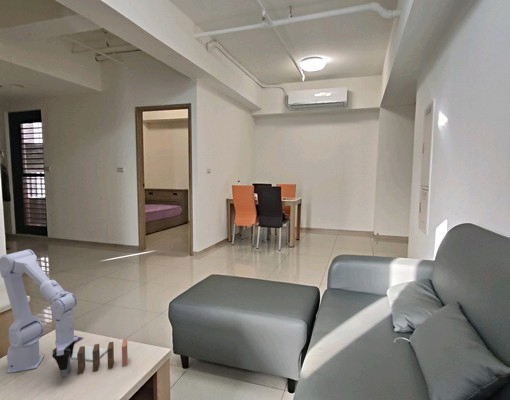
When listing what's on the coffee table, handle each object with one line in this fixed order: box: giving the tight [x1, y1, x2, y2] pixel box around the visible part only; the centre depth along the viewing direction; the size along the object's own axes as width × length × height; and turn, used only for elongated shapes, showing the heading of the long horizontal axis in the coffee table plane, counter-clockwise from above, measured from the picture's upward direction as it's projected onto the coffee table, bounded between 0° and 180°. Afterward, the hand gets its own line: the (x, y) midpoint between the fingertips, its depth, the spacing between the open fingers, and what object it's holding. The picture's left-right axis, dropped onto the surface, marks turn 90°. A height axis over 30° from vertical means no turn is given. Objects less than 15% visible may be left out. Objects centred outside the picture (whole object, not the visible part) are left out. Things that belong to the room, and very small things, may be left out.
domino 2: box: [76, 345, 86, 375], centre depth 115 cm, size 2×5×8 cm, turn 19°
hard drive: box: [70, 345, 108, 363], centre depth 125 cm, size 2×8×12 cm
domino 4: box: [106, 341, 115, 370], centre depth 118 cm, size 2×5×8 cm, turn 19°
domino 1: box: [61, 348, 72, 378], centre depth 113 cm, size 2×5×8 cm, turn 19°
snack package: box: [52, 336, 84, 352], centre depth 132 cm, size 12×2×5 cm
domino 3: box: [92, 343, 101, 373], centre depth 116 cm, size 2×5×8 cm, turn 19°
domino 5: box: [121, 339, 128, 368], centre depth 120 cm, size 2×5×8 cm, turn 19°
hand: (66, 363), depth 113 cm, fingers open, 7 cm apart
